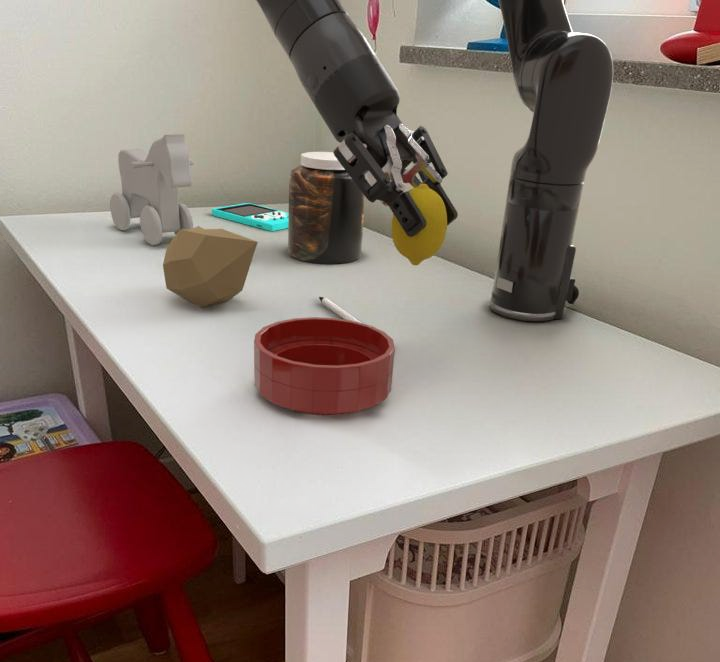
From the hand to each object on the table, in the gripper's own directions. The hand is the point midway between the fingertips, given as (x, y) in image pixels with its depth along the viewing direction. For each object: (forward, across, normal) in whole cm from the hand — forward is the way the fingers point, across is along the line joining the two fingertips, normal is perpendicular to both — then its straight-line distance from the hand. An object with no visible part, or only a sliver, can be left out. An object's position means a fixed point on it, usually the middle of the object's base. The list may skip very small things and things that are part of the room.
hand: (434, 226), depth 76 cm
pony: (-33, +20, +56) cm, 68 cm away
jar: (-15, +32, +38) cm, 52 cm away
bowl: (+8, -11, +15) cm, 20 cm away
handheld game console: (-32, +43, +55) cm, 77 cm away
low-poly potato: (-13, +3, +36) cm, 38 cm away
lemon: (+2, 0, +4) cm, 5 cm away
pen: (+1, +8, +22) cm, 23 cm away
